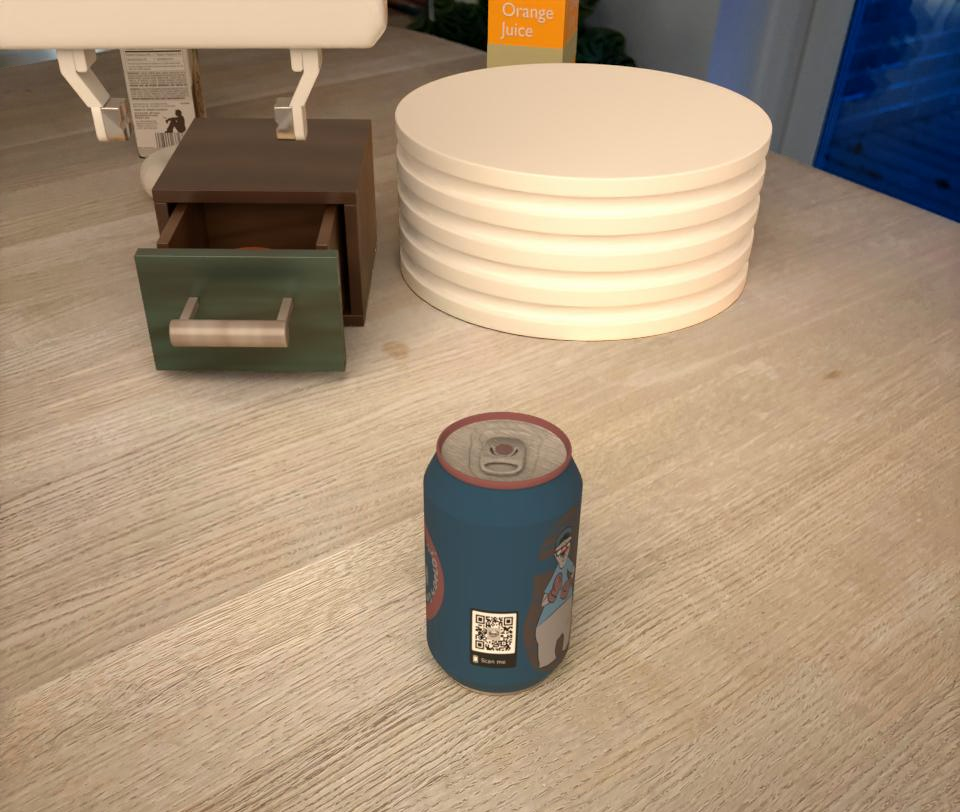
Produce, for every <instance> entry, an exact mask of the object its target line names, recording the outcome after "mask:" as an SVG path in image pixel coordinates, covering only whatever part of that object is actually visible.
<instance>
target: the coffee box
mask: <svg viewBox="0 0 960 812" xmlns="http://www.w3.org/2000/svg"><path fill="white" fill-rule="evenodd" d="M198 50H199V49H119V54H120V59H121V64H122V65H121V66H122V71H123V76H124V81H125V86H126V93H127V98H128V104H129V110H130V115H131V121H132V122H131V123H132V127H133V131H134V132H133V133H134V137H135V143H136V147H143V148H144V147H154V148H156V147H159V148H160V147H161V148H165V147H168V146H172V145H177V144H179V143H180V141H181V139H182V138H183V136H184V134H185V133H186V131H187V129H188V128H189V126H190V124H191V123H192V121H193V119H194V118H208V113H207V106H206V99H205V93H204V86H203V79H202V71H201V64H200V57H199V51H198Z"/></svg>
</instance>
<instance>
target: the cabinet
mask: <svg viewBox="0 0 960 812" xmlns="http://www.w3.org/2000/svg"><path fill="white" fill-rule="evenodd" d="M277 126H278V124H277V122H276V121H275V117H274V118H273V117H272V118H270V117H269V118H268V117H265V118H264V117H263V118H262V117H207V118H194V119H193V121H192V123H191V124H190V126H189V128H188V129H187V131H186V133H185V134H184V136H183V138H182V139H181V141H180V143H179V144H178V146H177V148H176V149H175V151H174V153H173V154H172V156H171V158H170V159H169V161H168V163H167V164H166V166H165V168H164V169H163V171H162V173H161V174H160V176H159V178H158V179H157V181H156V183H155V184H154V186H153V188H152V196H153V198H152V201H153V205H154V206H153V207H154V213H155V218H156V222H157V229H158V235H159V236H160V235H161V233H162V231H163V230H164V228H165V226H166V224H167V222H168V220H169V218H170V217H171V215H172V213H173V211H174V209H175V207H176V205H177V203H266V204H344V217H345V231H346V246H347V261H348V276H349V284H348V289H347V295H346V300H345V305H344V310H343V324H344V327H364V326H365V322H366V317H367V310H368V304H369V298H370V291H371V286H372V285H371V284H372V278H373V272H372V270H373V271H374V266H373V263H374V264H375V259H374V256H375V257H376V253H375V249H376V250H377V247H376V242H377V243H378V233H377V232H378V231H377V230H378V229H377V227H378V226H377V209H376V207H377V206H376V190H375V188H376V187H375V170H374V169H375V167H374V149H373V146H374V145H373V132H372V131H373V127H372V119H370V118H368V119H366V118H365V119H364V118H358V119H357V118H307V137H306V140H296V141H295V140H278V139H277V132H276V129H277Z"/></svg>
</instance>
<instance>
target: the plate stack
mask: <svg viewBox="0 0 960 812" xmlns="http://www.w3.org/2000/svg"><path fill="white" fill-rule="evenodd" d="M771 120H772V119H771V118H770V117H769V115H768V114H767V112H765V110H764V109H763V108H762V107H760V105H758V104H757V103H755V102H754V101H752V100H751V99H749V98H748V97H746V96H744V95H742V94H740V93H738V92H736V91H734V90H731V89H729V88H726V87H725V86H721V85H718V84H715V83H713V82H712V83H711V82H709V81H706V80H702V79H699V78H694V77H692V76H691V77H690V76H686V75H682V74H678V73H672V72H668V71H662V70H655V69H649V68H642V67H633V66H626V65H625V66H624V65H616V64H615V65H614V64H613V65H612V64H603V63H600V64H599V63H581V62H580V63H577V62H575V63H543V64H523V65H511V66H501V67H493V68H487V67H486V68H481V69H474V70H470V71H464V72H460V73H456V74H452V75H448V76H445V77H442V78H439V79H435V80H433V81H430V82H428V83H425V84H422V85H421V86H419V87H417V88H415V89H414V90H412V91H411V92H409V93H408V94H406V95H405V96H404V97H403V98H402V99H401V100H400V101H399V103H398V104H397V106H396V108H395V112H394V129H395V130H394V131H395V136H396V139H397V144H396V147H395V148H396V150H395V160H396V162H395V163H396V171H397V174H398V179H397V184H396V185H397V187H396V188H397V204H398V208H399V212H398V237H399V241H400V244H399V267H401V268H400V272H401V271H402V272H401V275H402V278H403V279H404V281H405V283H406V284H407V285H408V287H409V288H410V289H411V290H412V292H414V293H415V294H416V295H417V296H418V297H420V298H421V299H422V300H423V301H425V302H426V303H427V304H428V305H430V306H432V307H434V308H436V309H438V310H439V311H441V312H443V313H445V314H447V315H449V316H452V317H454V318H457V319H458V320H462V321H464V322H468V323H470V324H473V325H476V326H480V327H482V328H485V329H490V330H494V331H497V332H503V333H507V334H511V335H517V336H522V337H523V336H524V337H529V338H531V337H532V338H538V339H546V340H547V339H548V340H558V341H575V342H576V341H579V342H581V341H582V342H583V341H585V342H591V341H593V342H596V341H597V342H599V341H618V340H620V341H621V340H631V339H632V340H633V339H639V338H640V339H641V338H645V337H646V338H647V337H652V336H657V335H658V336H659V335H662V334H667V333H668V334H669V333H673V332H677V331H679V330H683V329H687V328H690V327H693V326H695V325H698V324H700V323H703V322H705V321H708V320H709V319H711V318H714V317H715V316H717V315H719V314H720V313H722V312H723V311H725V310H726V309H728V308H729V307H730V306H731V305H733V304H734V303H735V302H736V301H737V300H738V298H739V297H740V295H741V294H742V293H743V290H744V289H745V286H746V283H747V277H748V273H749V272H748V271H749V263H750V262H749V258H750V256H751V253H752V250H753V249H752V247H753V242H754V236H755V224H756V222H757V220H758V214H759V208H760V205H761V195H760V192H761V190H762V187H763V185H764V180H765V175H766V170H767V160H766V156H767V155H768V153H769V151H770V145H771V141H772V134H773V124H772V121H771Z"/></svg>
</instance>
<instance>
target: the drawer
mask: <svg viewBox="0 0 960 812" xmlns="http://www.w3.org/2000/svg"><path fill="white" fill-rule="evenodd" d="M155 244H156V247H138V248H137V249H136V251H135V253H134V255H133V258H134V259H133V260H134V264H135V268H136V275H137V279H138V284H139V289H140V294H141V300H142V304H143V309H144V315H145V320H146V325H147V330H148V335H149V340H150V346H151V350H152V357H153V361H154V365H155V370H156V371H157V372H158V371H159V372H161V371H163V372H164V371H165V372H179V371H180V372H275V373H276V372H279V373H280V372H281V373H282V372H294V373H295V372H297V373H298V372H299V373H302V372H303V373H345V372H346V367H347V354H346V353H347V352H346V341H345V339H346V338H345V326H344V324H343V310H344V305H345V300H346V295H347V289H348V284H349V276H348V261H347V246H346V231H345V217H344V204H266V203H177V205H176V207H175V209H174V211H173V213H172V215H171V217H170V218H169V220H168V222H167V224H166V226H165V228H164V230H163V231H162V233H161V235H159V237H158V239H157V240H156V242H155ZM244 247H262V248H269V249H237V248H244Z"/></svg>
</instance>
